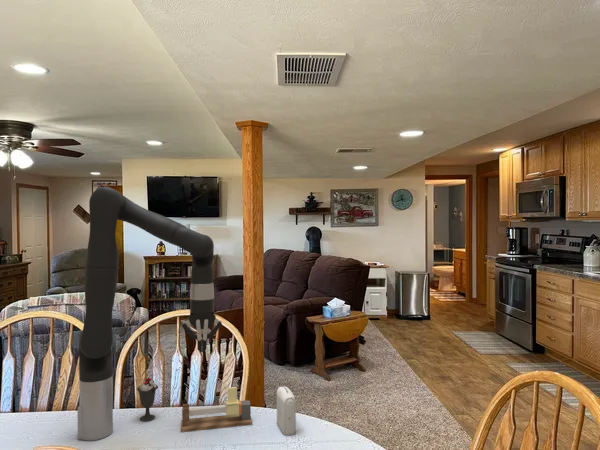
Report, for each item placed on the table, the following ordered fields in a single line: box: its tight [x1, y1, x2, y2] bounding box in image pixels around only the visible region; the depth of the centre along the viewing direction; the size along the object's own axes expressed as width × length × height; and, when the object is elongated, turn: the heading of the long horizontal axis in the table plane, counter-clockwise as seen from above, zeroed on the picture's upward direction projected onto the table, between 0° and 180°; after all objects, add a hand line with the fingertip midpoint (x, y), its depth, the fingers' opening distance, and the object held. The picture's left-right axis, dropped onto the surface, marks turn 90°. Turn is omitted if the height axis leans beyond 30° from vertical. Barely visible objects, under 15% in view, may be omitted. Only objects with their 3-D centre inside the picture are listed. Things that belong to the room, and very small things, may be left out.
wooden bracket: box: [180, 403, 253, 433], centre depth 142 cm, size 22×7×6 cm, turn 103°
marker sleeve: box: [225, 386, 240, 417], centre depth 143 cm, size 4×4×8 cm
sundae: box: [136, 374, 159, 422], centre depth 147 cm, size 7×7×15 cm
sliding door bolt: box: [189, 399, 252, 420], centre depth 142 cm, size 21×4×5 cm, turn 103°
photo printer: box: [276, 385, 297, 436], centre depth 138 cm, size 10×4×12 cm, turn 17°
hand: (202, 351), depth 142 cm, fingers closed
